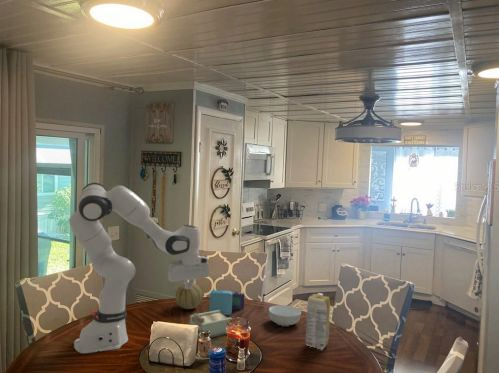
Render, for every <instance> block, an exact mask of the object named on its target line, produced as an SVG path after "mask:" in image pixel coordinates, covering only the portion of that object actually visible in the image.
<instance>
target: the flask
mask: <svg viewBox="0 0 499 373" xmlns="http://www.w3.org/2000/svg"><path fill="white" fill-rule="evenodd" d="M244 308H245V294H244V292H239V291H238V289H235V290H234V292H232V311H233V310H237V311H238V310H241V311H243V310H244Z"/></svg>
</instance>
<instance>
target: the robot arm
mask: <svg viewBox="0 0 499 373" xmlns="http://www.w3.org/2000/svg"><path fill="white" fill-rule="evenodd" d="M78 200H79V202H78V210H76V211H75V212H74V213H72V214H71V216H70V218H69V225H70V228H71V230H72V233H73V234H74V236H75V237H76V239H77V240H78V242H79V244H80V245H81V247H82V248H83V249H84V251H85V252H86V254H87V256H88V257H89V260H90V262H91V266H92V269H93V270H94V272H95V273H96V274H97V275H99V276H101V277H103V278H104V281H105V282H104V286H103V289H102V290H100V292H99V295H98V296H99V300H98V302H99V304H98V305H99V306H98V310H97V311H96V310H91V315H92V316H93V320H92V321H90V322H89V323H88V324H87V325H86V326H84V327H83V328H82V329H81V331H80V334H79V338H76V339H75V340H74V341H73V347H74V349H75V351H76V352H78V353H80V354H90V353H97V352H98V351H99V352H103V351H104V352H105V351H112V350H118V349H120V348H121V347H122V346H123V345H124V344H126V343H127V342H128V341H129V336H128V333H127V325H126V321H127V308H126V294H127V290H128V286H129V283H130V282H131V281H132V280H133V279H134V277H135V274H136V267H135V264H134V263H133V262H132V261H131V260H130V259H128V258H127V257H124V256H122V255H119V254H117V253H116V252H115V250H114V248H113V246H112V239H111V237H110V236H109V234H108V232H107V230H106V229H105V227H104V226H103V224H102V223H101V222H100V220H101V219H103V218H104V217H105V216H108V215H110V214H111V213H112V211H114V212H115V213H117V214H118V215H119V216H120V217H121V218H122V219H124V221H127V222H128V223H129V224H131V225H132V226H135V227H138V228H139V229H141V230H142V231H143V232H144V233H145V234H147V235H148V237H149V238H151V240H152V242H153V244H154V247H156V250H159V251H161V252H164V253H167V254H168V255H171V256H176V255H179V260H172V261H171V262H169V264H168V272H167V280H168V281H169V282H172V283H174V282H181V281H182V282H183V284H185V289H191V288H192V285H193V283H195V280H196V279H202V278H204V279H205V278H209V276H210V264H209V258H208V257H206V256H203V255H201V254H200V250H199V247H200V239H201V238H200V237H201V236H200V230H199V228H198V227H197V226H195V225H191V224H183V225H182V226H181V227H180V228H179V229H176V231H171V230H168V229H166V228H163V227H161V226H160V225H159V224H157V223H156V222H155V221H154V220H153V218H151V217H150V216H151V209H150V208H149V206H148V204H147V203H146V202H145V201H144V200H143V199H142V198H141V197H140V196H138V194H136V193H135V192H133V191H132V190H131V189H129V188H128V187H126V186H124V185H116V186H114V187H112V188H111V189H109V190H107V188H106V187H105V186H104V184H101V183H99V182H89V183H88V184H86V185H85V186H84V187H83V188H82V189H81V193H80V196H79V199H78ZM187 282H190V283H189V284H187Z"/></svg>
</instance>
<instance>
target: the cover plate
mask: <svg viewBox="0 0 499 373" xmlns="http://www.w3.org/2000/svg"><path fill="white" fill-rule="evenodd" d="M198 314H199V313H197V312H195V313H193V315H194V318H193V321H194V322H195V323H197V324H198V325H199V326H201V324H202V323H207V322H211V321H216V320H221V319H226V318H228V317H227V315H223V314H221V313H216V314H211V315H206V316H200V315H198Z"/></svg>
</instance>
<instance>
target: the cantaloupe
mask: <svg viewBox="0 0 499 373" xmlns="http://www.w3.org/2000/svg"><path fill="white" fill-rule="evenodd" d="M186 283H187V284H189V283H190V281H188V282H186ZM201 289H202V288H201V287H200V286H199V285H198V284H197V283H195V282H194V283H193V285H192V288H191V289H185V284H184V283H182V284H181V285H179V287H178V288H177V289H176V292H175V302H176V303H177V305H178V306H179V307H180V308H181V309H184V310H192V309H194V308H197V307H198V306H199V305H200V304H201V302H202V301H203V300H202V299H203V292H202V290H201Z"/></svg>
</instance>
